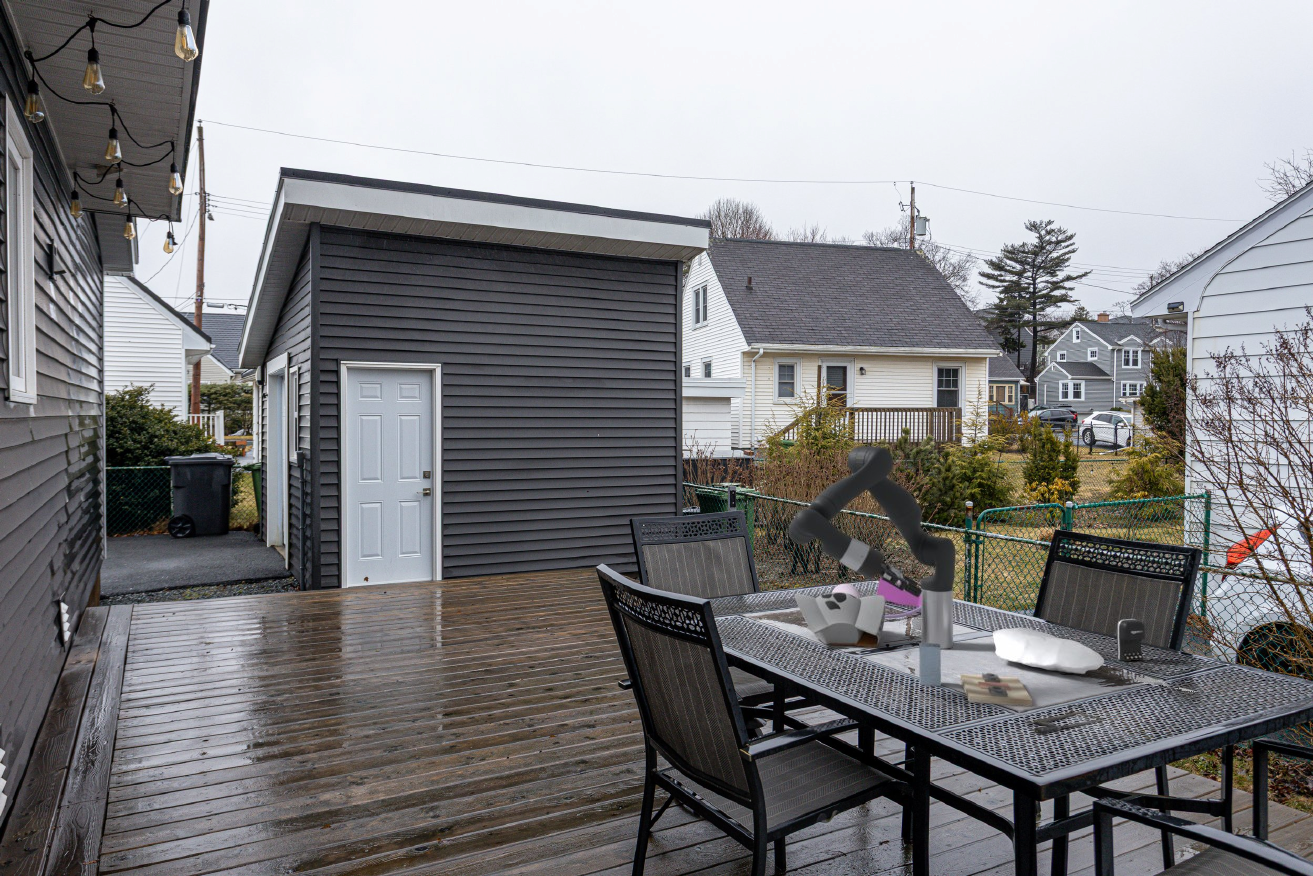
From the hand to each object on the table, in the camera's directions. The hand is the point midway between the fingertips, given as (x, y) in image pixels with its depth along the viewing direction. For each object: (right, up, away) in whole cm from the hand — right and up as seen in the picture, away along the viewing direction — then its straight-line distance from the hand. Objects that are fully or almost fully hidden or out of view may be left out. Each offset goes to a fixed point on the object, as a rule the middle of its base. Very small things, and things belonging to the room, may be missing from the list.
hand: (918, 590), depth 207 cm
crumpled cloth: (+42, -25, +17) cm, 52 cm away
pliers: (+61, -25, -4) cm, 66 cm away
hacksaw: (+24, -25, -24) cm, 42 cm away
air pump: (+14, -25, +86) cm, 90 cm away
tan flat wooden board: (+17, -25, -5) cm, 31 cm away
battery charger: (+68, -24, +22) cm, 75 cm away
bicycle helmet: (-9, -25, +48) cm, 55 cm away
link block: (+4, -25, +2) cm, 25 cm away
